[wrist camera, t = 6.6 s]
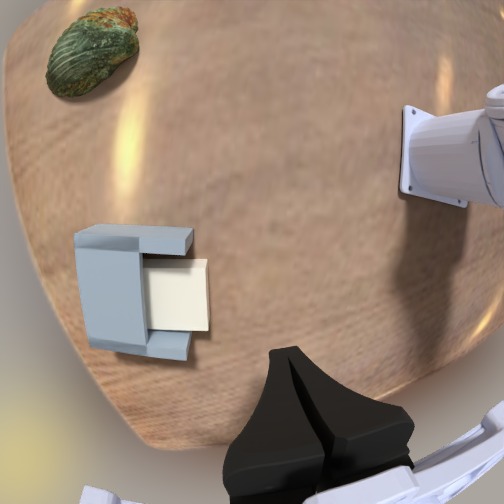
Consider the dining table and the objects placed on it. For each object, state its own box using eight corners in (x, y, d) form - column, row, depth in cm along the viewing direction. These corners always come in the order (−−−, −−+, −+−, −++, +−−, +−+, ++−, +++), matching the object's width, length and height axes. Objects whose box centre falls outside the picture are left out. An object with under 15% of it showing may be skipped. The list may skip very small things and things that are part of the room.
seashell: (65, -10, 10) (154, -10, 11) (83, 5, 13) (165, 13, 15) (12, 87, 12) (88, 103, 14) (37, 92, 16) (112, 111, 18)
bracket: (193, 228, 20) (185, 239, 16) (192, 332, 22) (186, 360, 19) (98, 223, 19) (73, 233, 16) (107, 323, 22) (90, 346, 18)
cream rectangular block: (208, 257, 21) (205, 268, 19) (210, 314, 23) (208, 330, 20) (113, 257, 21) (101, 267, 18) (121, 311, 22) (111, 326, 19)
